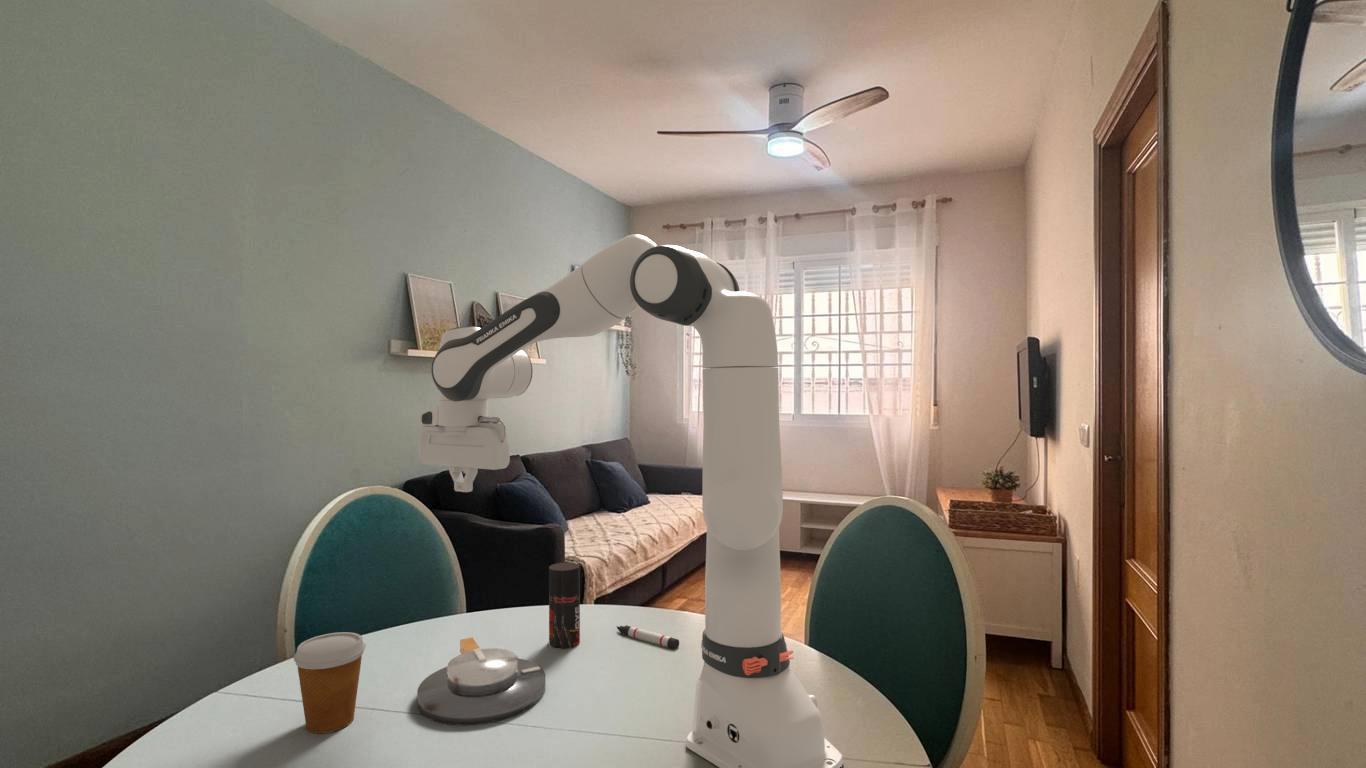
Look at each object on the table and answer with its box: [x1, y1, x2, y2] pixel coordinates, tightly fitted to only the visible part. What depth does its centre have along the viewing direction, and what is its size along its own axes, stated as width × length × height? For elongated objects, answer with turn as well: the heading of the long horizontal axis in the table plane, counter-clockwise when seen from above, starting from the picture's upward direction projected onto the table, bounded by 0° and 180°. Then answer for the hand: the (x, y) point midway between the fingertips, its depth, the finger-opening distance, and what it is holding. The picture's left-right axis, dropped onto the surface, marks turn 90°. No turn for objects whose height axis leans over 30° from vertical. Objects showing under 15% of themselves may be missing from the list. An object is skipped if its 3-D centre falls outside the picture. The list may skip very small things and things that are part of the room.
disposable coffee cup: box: [293, 631, 367, 734], centre depth 99 cm, size 10×10×12 cm
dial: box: [446, 637, 519, 696], centre depth 112 cm, size 18×11×3 cm, turn 30°
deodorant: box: [548, 562, 581, 650], centre depth 130 cm, size 6×6×15 cm
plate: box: [416, 657, 546, 726], centre depth 109 cm, size 20×20×2 cm
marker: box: [616, 624, 680, 650], centre depth 132 cm, size 15×2×2 cm, turn 54°
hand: (463, 491), depth 122 cm, fingers closed
